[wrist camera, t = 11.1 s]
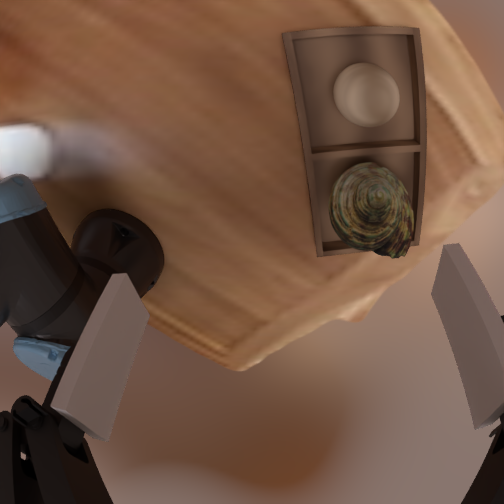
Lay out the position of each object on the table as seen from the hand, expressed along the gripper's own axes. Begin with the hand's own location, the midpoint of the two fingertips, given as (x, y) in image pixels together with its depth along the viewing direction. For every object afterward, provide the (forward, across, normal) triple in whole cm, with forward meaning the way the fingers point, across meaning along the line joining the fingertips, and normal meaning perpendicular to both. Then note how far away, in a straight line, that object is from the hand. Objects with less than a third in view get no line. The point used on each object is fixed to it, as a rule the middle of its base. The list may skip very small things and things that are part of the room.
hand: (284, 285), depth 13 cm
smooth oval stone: (+25, +9, +3) cm, 27 cm away
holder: (+26, +9, -4) cm, 28 cm away
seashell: (+25, +9, -10) cm, 29 cm away
